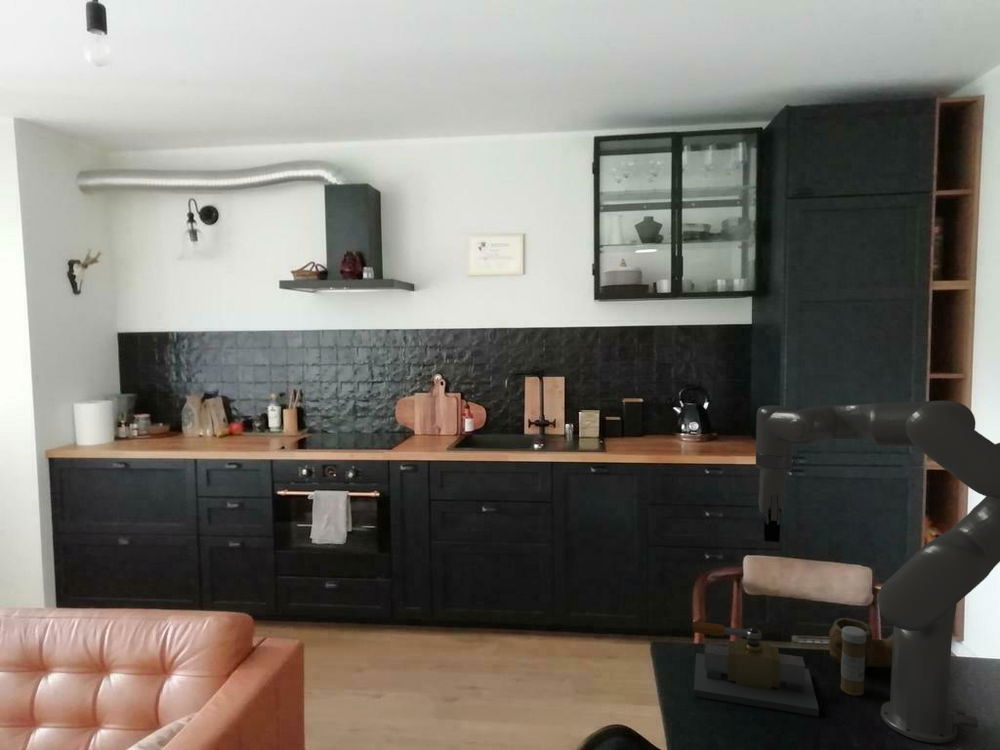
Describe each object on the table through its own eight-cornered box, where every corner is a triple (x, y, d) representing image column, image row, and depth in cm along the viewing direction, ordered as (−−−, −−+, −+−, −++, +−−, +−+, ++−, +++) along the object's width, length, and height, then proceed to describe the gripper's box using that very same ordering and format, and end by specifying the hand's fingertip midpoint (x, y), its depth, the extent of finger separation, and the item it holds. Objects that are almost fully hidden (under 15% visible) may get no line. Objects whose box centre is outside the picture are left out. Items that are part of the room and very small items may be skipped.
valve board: (808, 675, 147) (808, 668, 147) (818, 716, 132) (818, 709, 132) (696, 659, 155) (696, 653, 155) (693, 696, 140) (693, 689, 140)
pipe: (916, 682, 144) (918, 638, 143) (836, 676, 147) (837, 633, 146) (898, 661, 153) (900, 619, 152) (823, 656, 156) (825, 615, 155)
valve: (801, 677, 144) (802, 636, 143) (805, 695, 137) (806, 651, 136) (704, 663, 150) (705, 623, 149) (704, 679, 143) (704, 638, 142)
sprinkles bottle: (852, 683, 144) (854, 624, 143) (869, 695, 139) (871, 633, 138) (834, 686, 143) (836, 626, 142) (851, 698, 138) (853, 636, 137)
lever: (761, 634, 144) (761, 626, 143) (762, 641, 141) (762, 633, 140) (693, 626, 148) (693, 618, 148) (693, 633, 145) (693, 624, 145)
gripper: (754, 453, 157) (752, 529, 158) (757, 467, 143) (755, 549, 144) (788, 455, 155) (786, 531, 156) (795, 469, 140) (793, 553, 142)
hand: (771, 540), depth 150 cm, fingers closed
